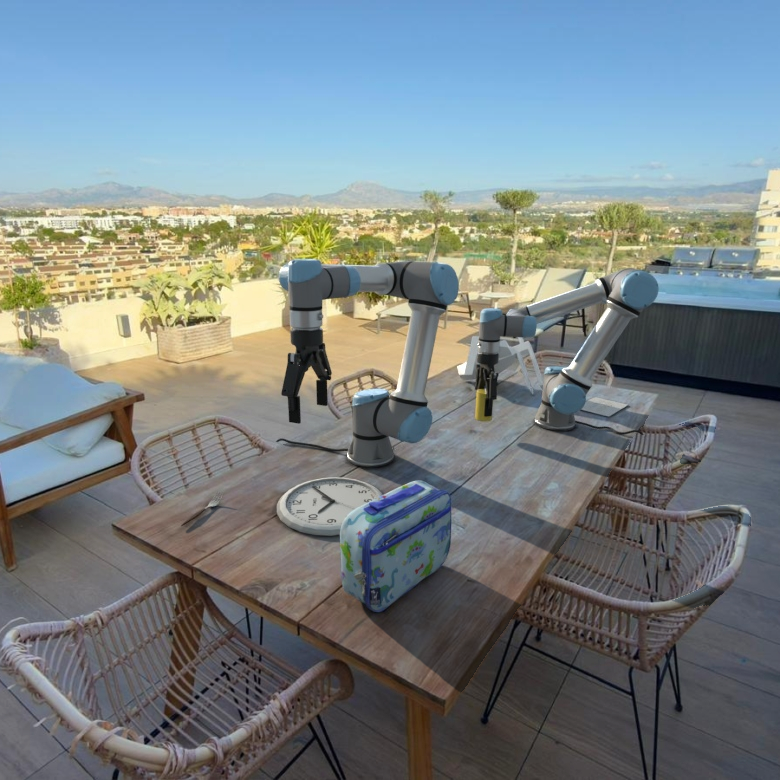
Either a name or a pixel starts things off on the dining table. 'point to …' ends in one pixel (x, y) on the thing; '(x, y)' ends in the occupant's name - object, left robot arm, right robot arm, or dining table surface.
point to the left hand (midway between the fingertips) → (309, 413)
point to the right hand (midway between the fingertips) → (483, 412)
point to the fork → (211, 504)
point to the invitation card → (603, 406)
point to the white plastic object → (502, 360)
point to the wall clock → (323, 504)
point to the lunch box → (394, 543)
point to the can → (481, 406)
